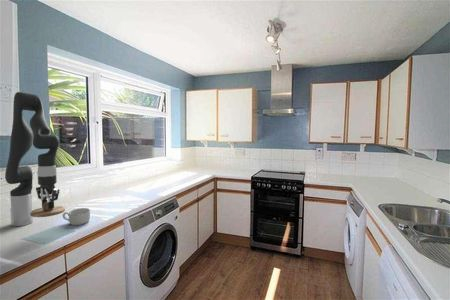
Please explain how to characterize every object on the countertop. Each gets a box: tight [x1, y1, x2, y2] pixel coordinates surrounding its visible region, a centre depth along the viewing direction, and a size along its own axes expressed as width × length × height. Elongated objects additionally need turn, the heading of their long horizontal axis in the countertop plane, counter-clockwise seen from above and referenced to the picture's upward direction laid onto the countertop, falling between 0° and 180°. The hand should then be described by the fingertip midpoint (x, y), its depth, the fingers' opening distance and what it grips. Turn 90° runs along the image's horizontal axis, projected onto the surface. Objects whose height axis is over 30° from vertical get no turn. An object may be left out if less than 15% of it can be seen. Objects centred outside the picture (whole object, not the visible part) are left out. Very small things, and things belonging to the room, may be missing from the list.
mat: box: [22, 226, 76, 245], centre depth 120 cm, size 16×16×1 cm
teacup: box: [62, 207, 91, 226], centre depth 137 cm, size 14×11×8 cm
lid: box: [30, 201, 66, 218], centre depth 119 cm, size 14×14×5 cm
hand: (48, 207), depth 119 cm, fingers closed on lid, 4 cm apart
